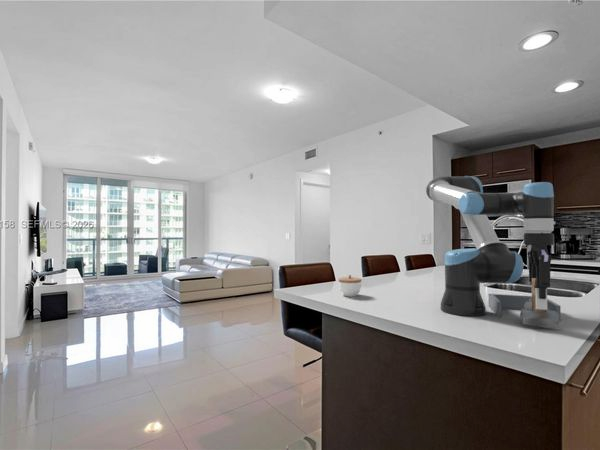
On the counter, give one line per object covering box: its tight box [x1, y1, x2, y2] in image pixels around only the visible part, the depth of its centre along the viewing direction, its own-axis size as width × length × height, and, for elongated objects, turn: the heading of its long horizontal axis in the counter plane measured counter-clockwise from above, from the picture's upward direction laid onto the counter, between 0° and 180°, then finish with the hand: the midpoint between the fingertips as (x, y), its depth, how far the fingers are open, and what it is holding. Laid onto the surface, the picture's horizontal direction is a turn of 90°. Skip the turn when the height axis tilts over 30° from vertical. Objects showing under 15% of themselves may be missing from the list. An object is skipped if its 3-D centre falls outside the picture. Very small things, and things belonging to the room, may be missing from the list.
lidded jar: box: [338, 274, 362, 297], centre depth 150 cm, size 11×11×9 cm
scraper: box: [520, 278, 560, 328], centre depth 99 cm, size 9×3×14 cm, turn 69°
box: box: [488, 293, 562, 322], centre depth 117 cm, size 18×15×5 cm
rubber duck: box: [519, 299, 532, 318], centre depth 105 cm, size 5×7×8 cm
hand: (539, 307), depth 99 cm, fingers closed on scraper, 3 cm apart
